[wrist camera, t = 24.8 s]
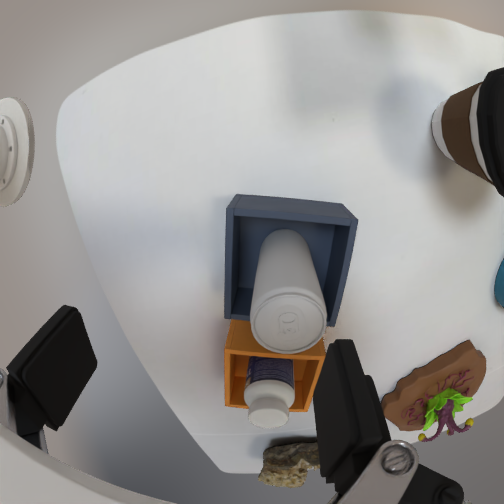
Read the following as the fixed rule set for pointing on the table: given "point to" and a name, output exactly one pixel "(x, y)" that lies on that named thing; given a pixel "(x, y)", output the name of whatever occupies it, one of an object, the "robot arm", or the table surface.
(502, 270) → the camera mount
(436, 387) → the plant
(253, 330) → the beverage can
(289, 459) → the mineral specimen
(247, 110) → the table surface
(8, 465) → the robot arm
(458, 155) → the coffee cup
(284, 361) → the pill bottle
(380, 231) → the table surface
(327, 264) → the slate bin
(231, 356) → the amber bin
